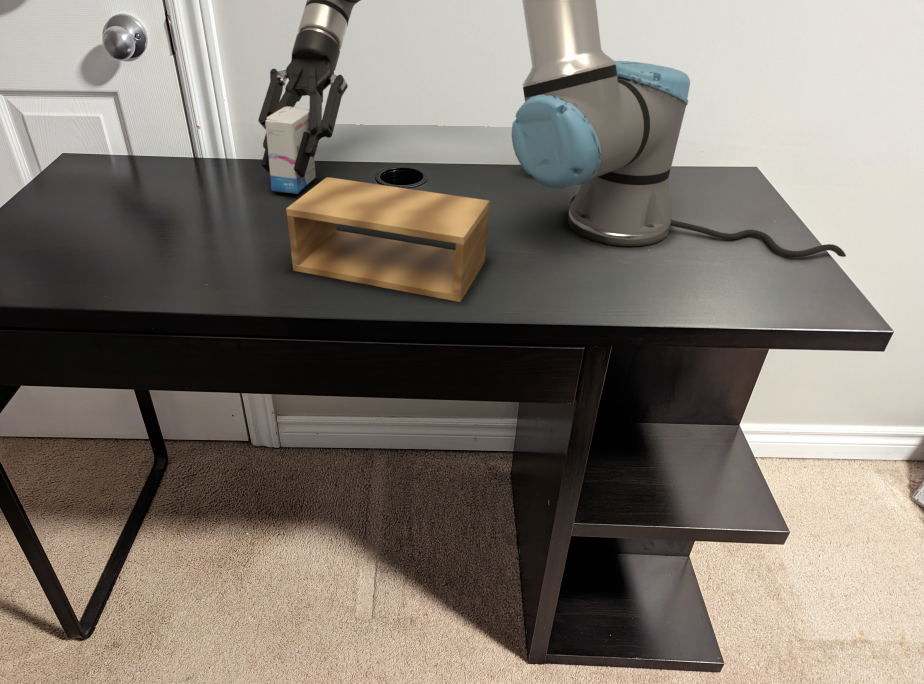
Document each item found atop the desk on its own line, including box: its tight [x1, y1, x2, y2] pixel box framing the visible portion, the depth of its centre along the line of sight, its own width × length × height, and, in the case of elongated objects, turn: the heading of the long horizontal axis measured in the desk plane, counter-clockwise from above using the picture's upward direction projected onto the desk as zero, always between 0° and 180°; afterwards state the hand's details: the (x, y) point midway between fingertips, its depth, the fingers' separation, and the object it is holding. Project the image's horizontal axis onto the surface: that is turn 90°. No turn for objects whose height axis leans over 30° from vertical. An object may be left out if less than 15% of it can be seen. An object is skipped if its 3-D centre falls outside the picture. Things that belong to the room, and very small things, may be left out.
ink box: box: [265, 106, 316, 195], centre depth 113 cm, size 9×5×12 cm, turn 165°
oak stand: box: [285, 176, 491, 303], centre depth 92 cm, size 24×12×9 cm, turn 70°
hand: (282, 170), depth 112 cm, fingers closed on ink box, 5 cm apart
